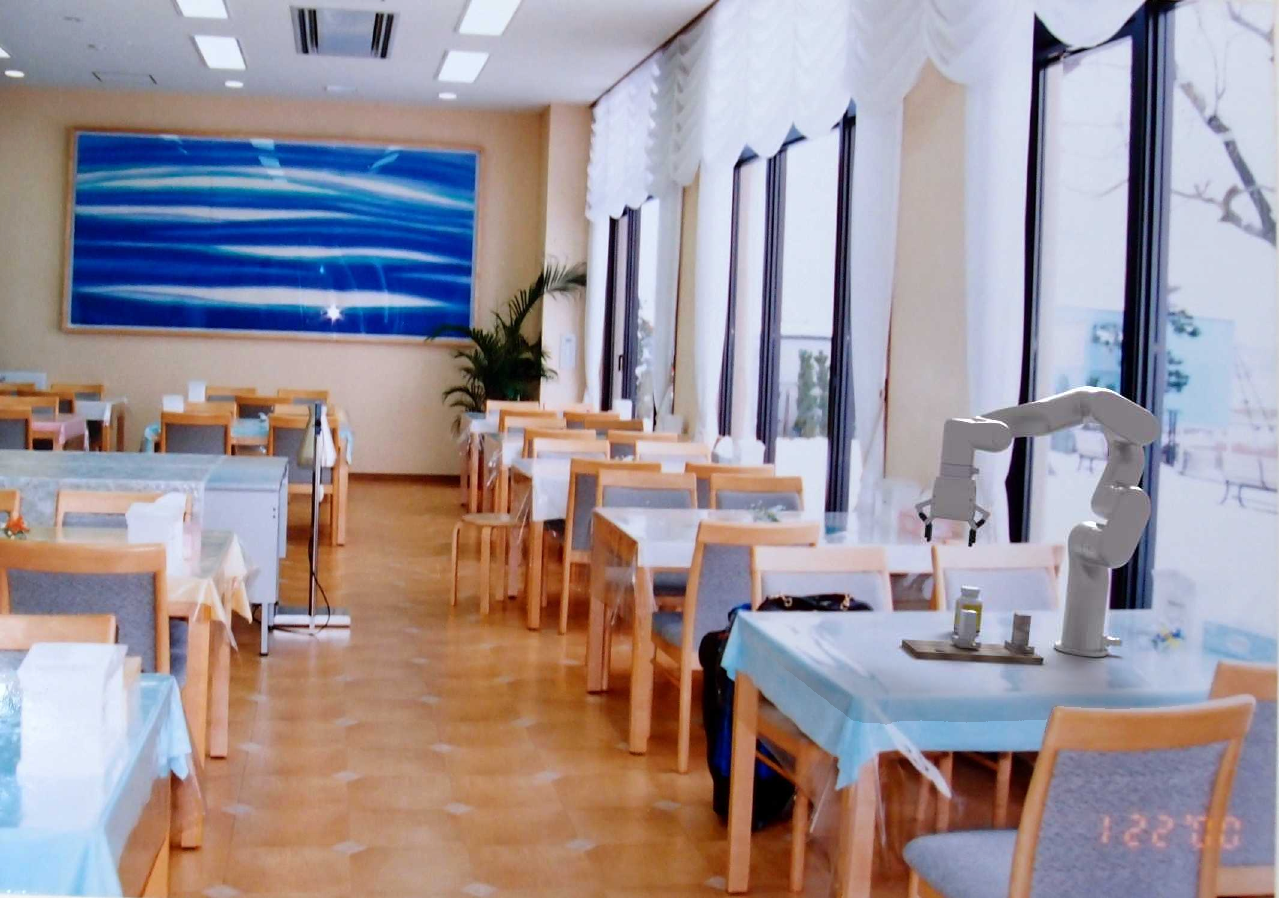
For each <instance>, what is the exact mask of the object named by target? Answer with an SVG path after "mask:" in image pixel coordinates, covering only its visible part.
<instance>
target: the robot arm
mask: <svg viewBox="0 0 1279 898" xmlns="http://www.w3.org/2000/svg"><path fill="white" fill-rule="evenodd" d="M1084 424H1095V425H1100V430H1101V432H1102V435H1103V437H1104V438H1105V440H1106V444H1107V446H1108V459H1107V462H1106V465H1105V467H1104V469H1103V471H1102V475H1101V477H1100V479H1099V481H1098V483H1097V485H1096V487H1095V490H1094V492H1093V494H1092V497H1091V500H1090V508H1091V511H1092V513H1093V514H1094V515H1095V516H1097V517H1098V518H1100V519H1103V520H1105V521H1106V523H1105V524H1103V523H1099V522H1095V521H1083V522H1080V523H1078V524H1076V525H1075V526H1074V527H1072V529H1071V530H1070V532H1069V534H1068V535H1069V536H1068V539H1067V555H1068V556H1067V557H1068V576H1067V584H1066V591H1065V592H1066V593H1065V601H1064V602H1065V604H1064V612H1063V622H1062V629H1061V631H1062V632H1061V639H1060V640H1056V641H1055V642H1053V643H1054V644H1053V645H1054V646H1053V647H1054V649H1055V650H1057V651H1059V652H1062V653H1066V654H1069V655H1075V656H1081V657H1091V658H1093V657H1094V658H1098V657H1100V658H1101V657H1106V656H1108V655H1109V649H1108V648H1109V647H1110V646H1112V647H1122V645H1123V639H1122V638H1116V637H1115V638H1113V637H1112V636H1108V635H1105V634H1104V631H1105V623H1106V615H1107V614H1106V612H1107V605H1108V595H1109V585H1110V574H1109V569H1118V568H1121V567H1123V566H1124V565H1126V564H1127V563H1128V562H1129V561H1130V559H1131V558H1132V556H1134V555H1133V554H1134V553H1135V550H1136V548H1137V546H1138V544H1139V542H1140V539H1141V537H1142V535H1143V533H1144V530H1145V529H1146V526H1147V524H1148V521H1149V519H1150V515H1151V511H1152V505H1151V500H1150V496H1149V495H1148V493H1147V492H1146V491H1145V490H1144V489H1142V488H1140V487H1139V483H1140V480H1141V477H1142V476H1143V472H1144V470H1145V464H1146V454H1145V451H1144V447H1147V446H1148V445H1151V444H1152V443H1153V442H1155V441H1156V440H1157V438H1158V436H1159V434H1160V423H1159V421H1158V419H1157V417H1156V416H1155V415H1154V414H1153V413H1152V412H1151V411H1149V410H1148V409H1146V408H1144V407H1142V406H1141V405H1138V404H1136V403H1135V402H1133V401H1132V400H1130V399H1128V398H1126V397H1124V396H1122V395H1121V394H1119V393H1117V392H1115V391H1113V390H1110V389H1108V388H1101V387H1094V386H1082V387H1077V388H1074V389H1071V390H1068V391H1065V392H1063V393H1059V394H1056V395H1053V396H1050V397H1047V398H1043V399H1040V400H1036V401H1032V402H1027V403H1023V404H1018V405H1015V406H1009V407H1003V408H1000V409H996V410H993V411H990V412H987V413H983V414H980V415H977V416H974V417H972V418H970V419H967V418H954V417H953V418H948V419H946V420H945V422H944V424H943V433H942V434H943V435H942V445H941V456H940V465H939V466H940V467H939V474H937V475H936V477H935V480H934V484H933V486H932V487H933V488H932V493H931V498H930V499H927V500H924V501H921V502H919V503H916V504H915V505H914V506H915V509H916V511H917V512H916V513H917V514H918V517H919V518H920V519H921V521H922V522H923V524H924V534H923V535H924V538H926V543H930V542H931V541H932V536H933V527H934V526H933V524H932V522H933V521H934V520H935V519H936V518H937V519H943V520H949V521H950V520H951V521H961V522H967V523H968V525H969V526H970V529H969V531H968V541H967V542H968V543H967V547H969V548H971V547H972V546H973V544H976V541H977V530H978V529H980V528H982V526H984V524H985V523H986V522H987V520H988V518H990V516H991V512H990V511H989V510H987V509H986V508H985V507H982V506H981V505H980V504H978V503H977V480H976V478H973V477H974V476H975V475H979V474H980V468H976V467H975V466H974V465H975V464H974V462H975V451H981V452H982V451H983V452H986V453H992V454H993V453H994V454H997V453H998V454H999V453H1001V452H1004V451H1005V450H1007V449H1009V447H1010V446H1011V445H1012V442H1013V438H1021V437H1025V438H1026V437H1028V438H1029V437H1031V438H1034V437H1036V438H1037V437H1038V438H1039V437H1045V436H1050V435H1053V434H1057V433H1060V432H1062V431H1066V430H1069V429H1071V428H1075V427H1078V426H1081V425H1084ZM928 506H930V509H929V512H930V513H929V514H930V515H927V514H926V513H925V512H924V509H923V508H925V507H928ZM976 512H978V513H980V514H981V515H982V517H981V518H980V519H979V520H978V521H977V522H976V520H975V519H974V518H975V517H976Z"/></svg>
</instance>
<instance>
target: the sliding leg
mask: <svg viewBox="0 0 1279 898" xmlns="http://www.w3.org/2000/svg"><path fill="white" fill-rule="evenodd" d="M977 615H978V613H977V612H975V611H974V610H961V615H960V625H959V633H958V635H954V634H953V635H951V642H953V643H954V644H955V645H957V646H958V647H960V648H976V649H981V644H982V642H981V641H980V640H979V639H977V638H976V636H977V635H976V625H977Z"/></svg>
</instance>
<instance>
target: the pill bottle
mask: <svg viewBox="0 0 1279 898" xmlns="http://www.w3.org/2000/svg"><path fill="white" fill-rule="evenodd" d="M960 593H961V595H959V596H958V597H956V600H955V609H954V619H953V620H954V621H953V631H954V633H956V634H959V625H960V615H961V610H974V611H975V612H977V613H978V615H977V625H976V635H975V636H977V635H979V634H981V633H980V632H981V623H982V614H983V613H982V611H983V599H981V598H980V597H979V595H980V593H981V588H979V587H977V586H972V585H962V586H960Z"/></svg>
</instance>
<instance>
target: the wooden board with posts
mask: <svg viewBox="0 0 1279 898" xmlns="http://www.w3.org/2000/svg"><path fill="white" fill-rule="evenodd" d="M1031 621H1032V615H1030V614H1028V613H1027V612H1014V614H1013V621H1012V631H1011V639H1005V640H1004V644H997V643H981V649H976V648H960V647H958V646H957V645H955V644H954V643H953V642H952V641H943V640H942V641H940V640H937V641H936V640H923V639H920V640H919V639H906V638H905V639H903V638H902V640H901V646H902V647H903V648H904V649H905V650H906V651H907V652H909V653H910V654H911V655H912V656H913V657H915V658H916V659H927V660H928V659H929V660H930V659H931V660H946V661H947V660H948V661H949V660H950V661H970V662H973V661H974V662H985V663H987V662H988V663H990V662H992V663H1007V664H1008V663H1010V664H1027V665H1028V664H1029V665H1044V658H1045V657H1043V656H1041V655H1040V654H1038V653H1036V652H1035V648H1036V647H1035V646H1034V645H1033V644H1031V643H1029V642H1030V633H1031V632H1030V631H1031V624H1032V623H1031Z"/></svg>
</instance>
